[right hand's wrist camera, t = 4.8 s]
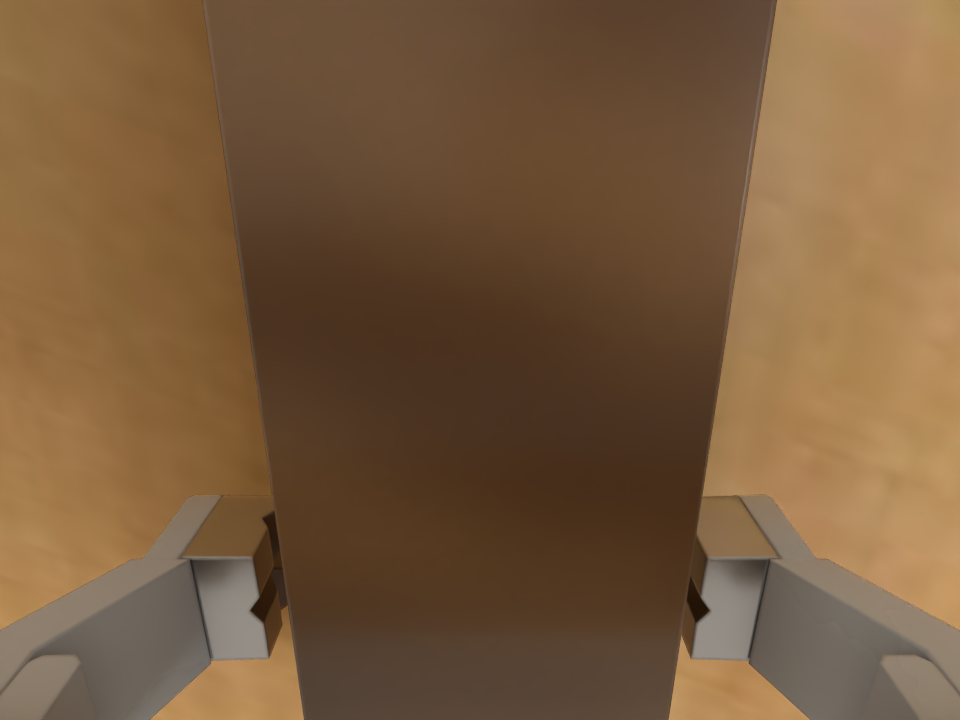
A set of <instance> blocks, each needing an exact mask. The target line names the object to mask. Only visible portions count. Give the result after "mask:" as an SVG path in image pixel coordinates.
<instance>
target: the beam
mask: <svg viewBox="0 0 960 720" xmlns="http://www.w3.org/2000/svg"><path fill="white" fill-rule="evenodd" d="M202 3H203V10H204V17H205V24H206V31H207V38H208V45H209V52H210V59H211V66H212V73H213V80H214V87H215V94H216V101H217V109H218V116H219V123H220V130H221V137H222V144H223V151H224V158H225V165H226V172H227V179H228V186H229V193H230V200H231V207H232V214H233V221H234V229H235V236H236V243H237V250H238V257H239V264H240V271H241V278H242V285H243V292H244V299H245V306H246V313H247V320H248V327H249V334H250V341H251V349H252V356H253V363H254V370H255V377H256V384H257V391H258V398H259V405H260V412H261V419H262V426H263V433H264V440H265V447H266V454H267V461H268V468H269V476H270V483H271V490H272V497H273V504H274V511H275V518H276V525H277V532H278V539H279V546H280V553H281V560H282V567H283V574H284V581H285V588H286V596H287V603H288V610H289V617H290V624H291V631H292V638H293V645H294V652H295V659H296V666H297V673H298V680H299V687H300V694H301V701H302V708H303V715H304V720H668V719H669V713H670V706H671V699H672V693H673V686H674V680H675V673H676V666H677V660H678V653H679V646H680V640H681V633H682V626H683V620H684V613H685V607H686V600H687V593H688V587H689V580H690V573H691V567H692V560H693V553H694V547H695V540H696V534H697V527H698V520H699V514H700V507H701V500H702V494H703V487H704V480H705V474H706V467H707V461H708V454H709V447H710V441H711V434H712V427H713V421H714V414H715V407H716V401H717V394H718V388H719V381H720V374H721V368H722V361H723V354H724V348H725V341H726V335H727V328H728V321H729V315H730V308H731V301H732V295H733V288H734V281H735V275H736V268H737V262H738V255H739V248H740V242H741V235H742V228H743V222H744V215H745V208H746V202H747V195H748V189H749V182H750V175H751V169H752V162H753V155H754V149H755V142H756V135H757V129H758V122H759V116H760V109H761V102H762V96H763V89H764V82H765V76H766V69H767V62H768V56H769V49H770V43H771V36H772V29H773V23H774V16H775V9H776V3H777V0H202Z"/></svg>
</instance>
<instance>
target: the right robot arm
mask: <svg viewBox="0 0 960 720" xmlns="http://www.w3.org/2000/svg"><path fill="white" fill-rule="evenodd" d="M287 605H288V603H287V596H286V588H285V581H284V574H283V567H282V560H281V553H280V546H279V539H278V532H277V525H276V518H275V511H274V504H273V497H272V496H253V495H225V496H224V495H194V496H191V497H189V498H188V499H187V500H186V501H185V502H184V504H183V505H182V506H181V508H180V509H179V510H178V512H177V513H176V514H175V516H174V517H173V519H172V520H171V521H170V523H169V524H168V525H167V527H166V528H165V529H164V531H163V532H162V533H161V535H160V536H159V537H158V539H157V540H156V541H155V543H154V544H153V545H152V547H151V548H150V550H149V551H148V552H147V554H146V555H145V556H144V558H143V559H132V560H130V561H128V562H126V563H124V564H122V565H120V566H119V567H117V568H115V569H113V570H111V571H109V572H107V573H106V574H104V575H102V576H100V577H98V578H96V579H94V580H93V581H91V582H89V583H87V584H85V585H83V586H81V587H80V588H78V589H76V590H74V591H72V592H70V593H68V594H67V595H65V596H63V597H61V598H59V599H57V600H55V601H53V602H52V603H50V604H48V605H46V606H44V607H42V608H40V609H39V610H37V611H35V612H33V613H31V614H29V615H27V616H26V617H24V618H22V619H20V620H18V621H16V622H14V623H13V624H11V625H9V626H7V627H5V628H3V629H1V630H0V720H150V719H151V718H152V717H153V716H154V715H155V714H156V713H158V712H159V711H160V710H161V709H162V708H163V707H164V706H165V705H166V704H167V703H169V702H170V701H171V700H172V699H173V698H174V697H175V696H176V695H177V694H178V693H179V692H181V691H182V690H183V689H184V688H185V687H186V686H187V685H188V684H189V683H190V682H192V681H193V680H194V679H195V678H196V677H197V676H198V675H199V674H200V673H201V672H202V671H204V670H205V669H206V668H207V667H208V666H209V665H210V664H211V661H212V660H247V659H269V658H270V655H271V653H272V650H273V648H274V645H275V642H276V640H277V637H278V635H279V632H280V629H281V627H282V618H281V610H282V609H283V608H284V607H285V606H287ZM681 635H682V637H683V640H684V643H685V645H686V648H687V650H688V653H689V655H690V658H691V659H712V660H748V661H749V664H750V665H751V666H752V667H753V668H755V669H756V670H757V671H758V672H759V673H760V674H761V675H762V676H763V677H764V678H765V679H767V680H768V681H769V682H770V683H771V684H772V685H773V686H774V687H775V688H776V689H777V690H779V691H780V692H781V693H782V694H783V695H784V696H785V697H786V698H787V699H788V700H789V701H791V702H792V703H793V704H794V705H795V706H796V707H797V708H798V709H799V710H800V711H801V712H803V713H804V714H805V715H806V716H807V717H808V718H809V719H810V720H960V630H958V629H956V628H954V627H953V626H951V625H949V624H947V623H945V622H943V621H941V620H940V619H938V618H936V617H934V616H932V615H930V614H928V613H927V612H925V611H923V610H921V609H919V608H917V607H915V606H914V605H912V604H910V603H908V602H906V601H904V600H902V599H901V598H899V597H897V596H895V595H893V594H891V593H889V592H888V591H886V590H884V589H882V588H880V587H878V586H877V585H875V584H873V583H871V582H869V581H867V580H865V579H864V578H862V577H860V576H858V575H856V574H854V573H852V572H851V571H849V570H847V569H845V568H843V567H841V566H839V565H838V564H836V563H834V562H832V561H830V560H828V559H817V558H816V556H815V555H814V554H813V552H812V551H811V550H810V548H809V547H808V546H807V544H806V543H805V542H804V540H803V539H802V538H801V536H800V535H799V534H798V532H797V531H796V530H795V528H794V527H793V526H792V524H791V523H790V522H789V520H788V519H787V518H786V516H785V515H784V514H783V512H782V511H781V510H780V508H779V507H778V506H777V504H776V503H775V502H774V500H773V499H772V498H771V497H769V496H767V495H766V494H761V495H734V496H704V497H702V500H701V507H700V514H699V520H698V527H697V534H696V540H695V547H694V553H693V560H692V567H691V573H690V580H689V587H688V593H687V600H686V607H685V613H684V620H683V626H682V633H681Z"/></svg>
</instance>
